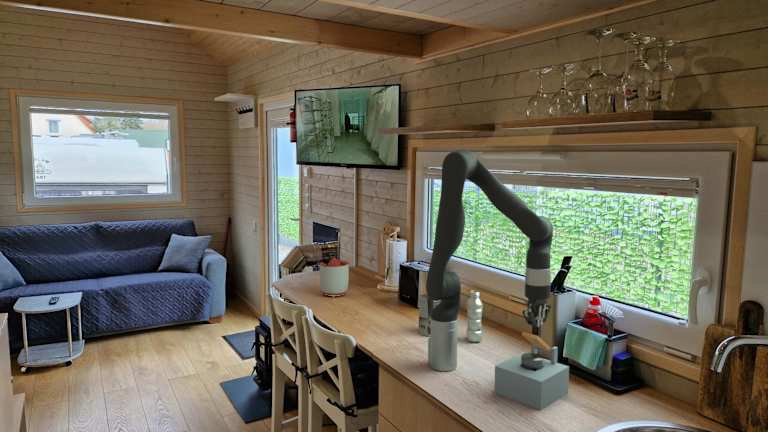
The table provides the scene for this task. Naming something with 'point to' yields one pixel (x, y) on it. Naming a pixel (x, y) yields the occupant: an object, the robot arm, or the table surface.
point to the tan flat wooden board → (537, 342)
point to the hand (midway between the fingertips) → (536, 337)
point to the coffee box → (426, 314)
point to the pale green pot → (334, 277)
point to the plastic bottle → (474, 317)
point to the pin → (532, 361)
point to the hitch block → (532, 380)
